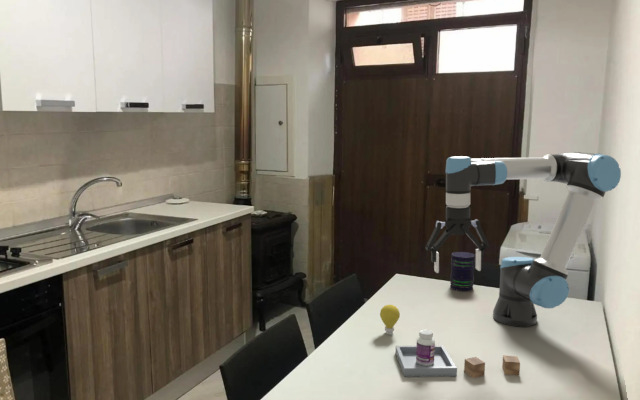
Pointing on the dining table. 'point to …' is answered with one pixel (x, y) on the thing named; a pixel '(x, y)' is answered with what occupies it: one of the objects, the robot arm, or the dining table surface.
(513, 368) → the walnut block
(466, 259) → the storage jar
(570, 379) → the dining table surface
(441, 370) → the tray
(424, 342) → the pill bottle
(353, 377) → the dining table surface
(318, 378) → the dining table surface
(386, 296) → the dining table surface
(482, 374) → the walnut block
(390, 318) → the light bulb
